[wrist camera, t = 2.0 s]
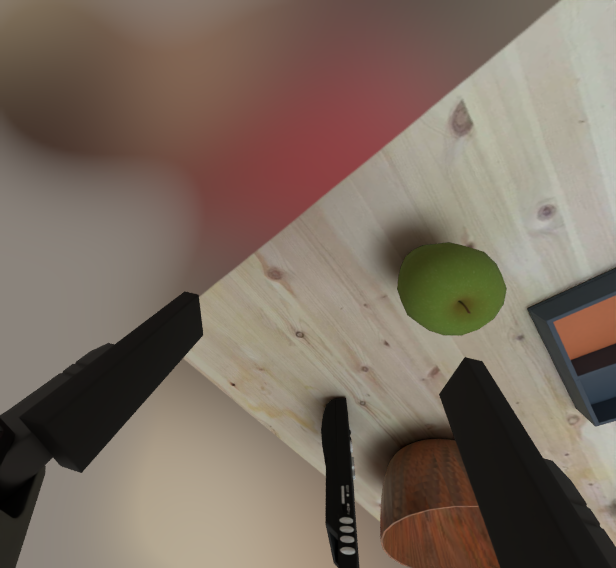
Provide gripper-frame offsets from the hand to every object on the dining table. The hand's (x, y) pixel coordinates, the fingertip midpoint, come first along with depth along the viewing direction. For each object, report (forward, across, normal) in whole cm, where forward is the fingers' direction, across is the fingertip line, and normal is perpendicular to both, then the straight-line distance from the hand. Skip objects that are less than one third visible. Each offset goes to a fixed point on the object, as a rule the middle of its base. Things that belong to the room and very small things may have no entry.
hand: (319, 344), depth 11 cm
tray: (+22, +38, -9) cm, 45 cm away
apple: (+20, +10, -2) cm, 22 cm away
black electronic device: (+17, +6, -33) cm, 38 cm away
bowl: (+19, +27, -41) cm, 53 cm away
